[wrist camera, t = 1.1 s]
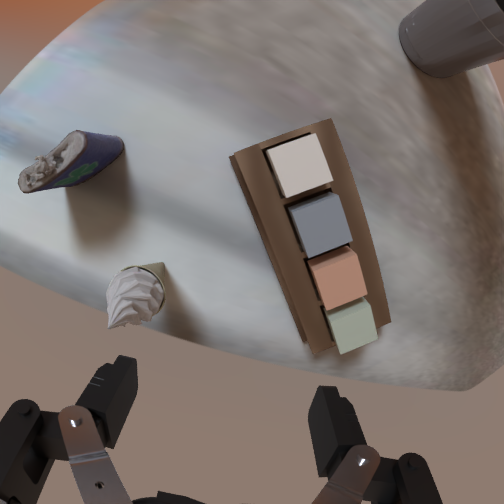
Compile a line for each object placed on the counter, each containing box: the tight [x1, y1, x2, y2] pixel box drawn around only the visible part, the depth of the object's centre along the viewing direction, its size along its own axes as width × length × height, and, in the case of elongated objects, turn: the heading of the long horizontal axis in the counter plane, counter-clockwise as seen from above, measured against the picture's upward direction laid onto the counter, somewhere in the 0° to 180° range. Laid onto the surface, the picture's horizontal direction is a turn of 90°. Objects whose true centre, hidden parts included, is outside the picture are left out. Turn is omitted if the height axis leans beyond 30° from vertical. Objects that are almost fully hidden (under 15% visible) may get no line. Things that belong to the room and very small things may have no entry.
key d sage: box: [324, 296, 378, 355], centre depth 30 cm, size 4×4×3 cm
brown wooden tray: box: [229, 118, 391, 354], centre depth 31 cm, size 11×23×4 cm, turn 22°
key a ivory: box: [266, 133, 333, 198], centre depth 26 cm, size 4×4×3 cm
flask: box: [18, 130, 124, 193], centre depth 26 cm, size 9×3×11 cm, turn 114°
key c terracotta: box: [307, 246, 367, 311], centre depth 29 cm, size 4×4×3 cm
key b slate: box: [288, 192, 353, 258], centre depth 27 cm, size 4×4×3 cm
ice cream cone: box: [106, 262, 166, 329], centre depth 27 cm, size 5×5×15 cm
